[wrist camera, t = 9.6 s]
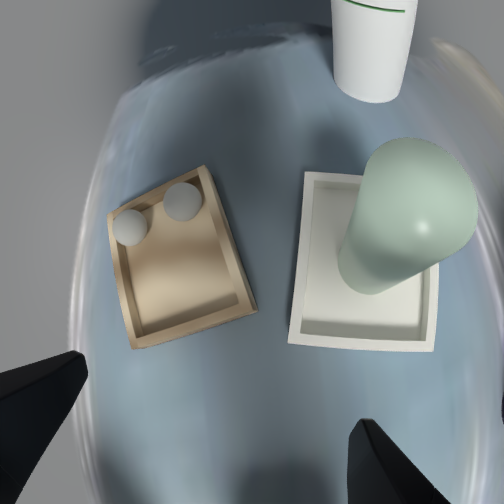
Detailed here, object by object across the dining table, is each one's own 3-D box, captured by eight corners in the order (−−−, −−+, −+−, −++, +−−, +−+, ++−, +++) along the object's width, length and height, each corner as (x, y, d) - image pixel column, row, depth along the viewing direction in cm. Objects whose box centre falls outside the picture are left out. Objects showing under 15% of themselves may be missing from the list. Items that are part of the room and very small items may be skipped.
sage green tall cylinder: (411, 262, 18) (494, 199, 7) (369, 308, 18) (435, 287, 7) (367, 217, 19) (408, 119, 9) (324, 260, 19) (335, 187, 9)
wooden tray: (258, 311, 20) (252, 310, 18) (145, 348, 21) (131, 349, 19) (212, 175, 24) (204, 164, 22) (119, 221, 25) (106, 214, 23)
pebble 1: (159, 221, 23) (140, 208, 20) (145, 254, 22) (124, 245, 20) (134, 213, 24) (115, 200, 21) (121, 243, 23) (100, 234, 20)
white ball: (213, 197, 22) (199, 180, 20) (198, 231, 22) (181, 217, 19) (183, 189, 23) (167, 172, 20) (168, 221, 23) (149, 207, 20)
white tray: (422, 349, 17) (433, 351, 15) (289, 340, 19) (287, 342, 17) (424, 195, 20) (433, 184, 18) (306, 183, 22) (304, 171, 20)
